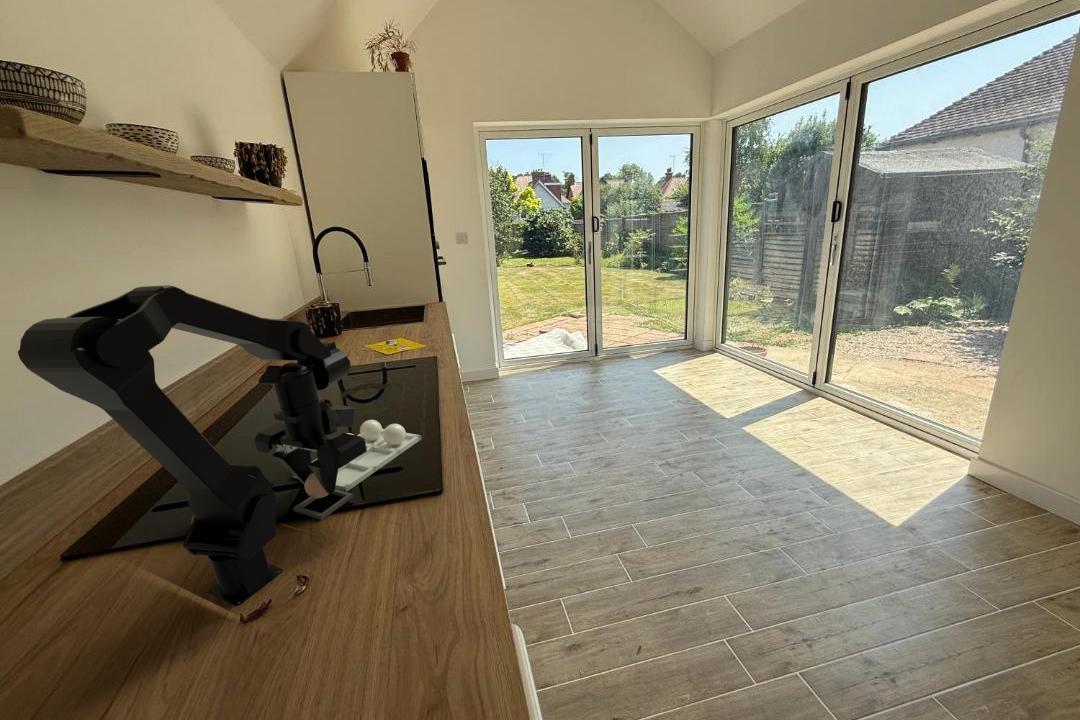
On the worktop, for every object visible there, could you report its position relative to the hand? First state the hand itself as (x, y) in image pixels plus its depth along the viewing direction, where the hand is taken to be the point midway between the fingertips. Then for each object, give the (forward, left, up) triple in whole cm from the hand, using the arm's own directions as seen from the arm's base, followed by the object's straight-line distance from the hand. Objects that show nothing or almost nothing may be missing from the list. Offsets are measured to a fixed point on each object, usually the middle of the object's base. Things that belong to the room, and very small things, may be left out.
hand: (321, 489), depth 75 cm
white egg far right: (+9, -20, -3) cm, 22 cm away
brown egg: (0, 0, -1) cm, 1 cm away
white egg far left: (+3, -20, -3) cm, 21 cm away
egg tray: (+6, -14, -3) cm, 16 cm away
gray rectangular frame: (0, 0, -3) cm, 3 cm away
